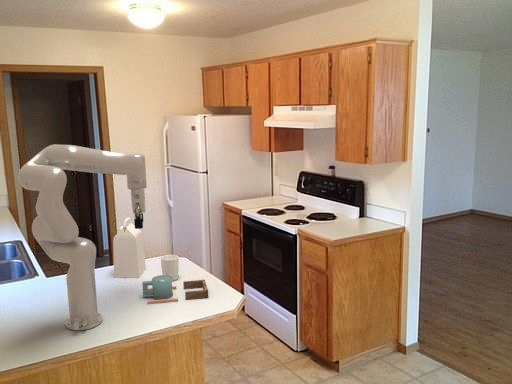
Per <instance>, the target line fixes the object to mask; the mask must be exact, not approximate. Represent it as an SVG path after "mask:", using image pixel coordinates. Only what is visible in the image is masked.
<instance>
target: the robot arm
mask: <svg viewBox="0 0 512 384" xmlns="http://www.w3.org/2000/svg"><path fill="white" fill-rule="evenodd" d="M146 167H147V166H146V156H145V155H144V154H142V153H129V154H125V153H118V152H114V151H109V150H104V149H103V150H102V149H96V148H90V147H84V146H79V145H74V144H73V145H72V144H58V143H57V144H55V143H54V144H50V145H48V146H46V147H44V148H42V150H41V151H39V152H38V153H37V154H35V155H34V156H33V157H32V158H31V159H29V160H28V161H27V162H26V163H25V164H23V165H22V167H21V168H20V169H19V171H18V174H17V181H18V183H19V185H20V186H21V187H22V188H24V189H25V190H28V191H34V192H35V191H36V192H39V194H38V196H37V200H36V203H35V211H36V214H37V216H36V217H34V219H33V221H32V224H31V232H32V235H33V238H34V239H35V241H36V242H37V243H38V244H39V245H40V247H41V248H42V250H43V251H44V253H45V254H46V255H47V256H48V257H49V258H50V260H53V261H56V262H59V263H65V264H68V265H69V269H68V270H67V273H66V278H65V279H66V288H67V289H66V290H67V302H68V303H67V304H68V313H69V317H68V319H66V321H65V327H66V328H67V329H68V330H71V331H85V330H90V329H93V328H96V327H98V326H99V325H100V324H101V323H102V322H103V321H104V319H103V315H102V314H101V313H99V310H98V301H97V299H98V298H97V296H98V295H97V288H96V286H97V285H96V273H95V268H96V267H95V266H96V265H95V264H96V259H97V258H96V257H97V247H96V245H95V243H94V242H93V241H92V240H90V239H88V238H86V237H80V236H79V234H80V231H79V227H78V225H77V222H76V221H75V220H74V218H73V216H72V215H71V213H70V212H69V210H68V209H67V207H66V205H65V204H64V200H63V199H64V198H63V197H64V193H65V189H66V187H67V183H68V182H67V181H68V179H67V174H66V172H65V171H66V170H67V171H75V172H83V173H84V172H85V173H92V174H93V173H94V174H101V175H102V174H105V175H107V174H112V175H116V176H117V175H119V176H126V185H127V189H128V190H130V198H131V199H130V200H131V208H132V213H133V214H134V219H133V220H134V221H133V222H134V224H133V225H135V229H139V230H140V229H143V228H144V226H143V225H144V214H145V213H146V196H145V194H146V193H145V189H147V172H146V171H147V170H146ZM64 170H65V171H64Z"/></svg>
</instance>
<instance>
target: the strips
mask: <svg viewBox="0 0 512 384" xmlns="http://www.w3.org/2000/svg"><path fill="white" fill-rule="evenodd" d="M172 290H177V285H172ZM148 291H152V287H150V288H149V287H148ZM175 302H176V303H177V302H179V298H178V297H175V298H173V297H171V298H169V299H162V300H157V299H152V300H146V304H147V305H153V304H164V303H175Z"/></svg>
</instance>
